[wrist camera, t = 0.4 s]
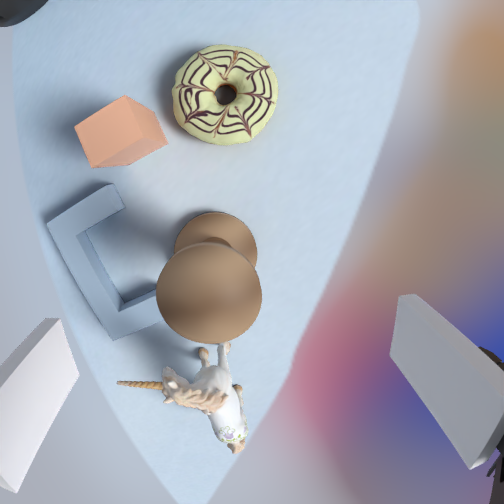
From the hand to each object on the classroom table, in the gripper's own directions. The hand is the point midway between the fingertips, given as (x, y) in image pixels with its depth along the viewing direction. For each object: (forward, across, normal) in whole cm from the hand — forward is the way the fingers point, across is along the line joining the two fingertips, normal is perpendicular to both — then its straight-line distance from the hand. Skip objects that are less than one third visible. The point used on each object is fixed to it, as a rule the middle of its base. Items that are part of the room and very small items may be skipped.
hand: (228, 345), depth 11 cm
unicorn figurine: (+25, -6, -19) cm, 32 cm away
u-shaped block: (+25, -14, -4) cm, 29 cm away
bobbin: (+25, -2, -4) cm, 25 cm away
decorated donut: (+25, 0, +13) cm, 28 cm away
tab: (+25, -9, +10) cm, 28 cm away
